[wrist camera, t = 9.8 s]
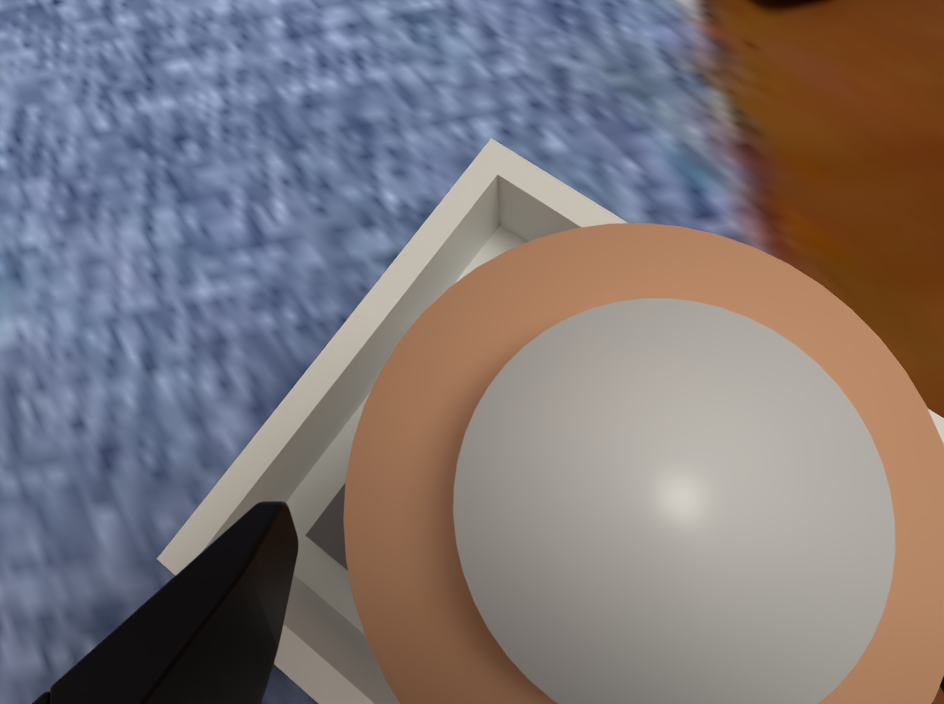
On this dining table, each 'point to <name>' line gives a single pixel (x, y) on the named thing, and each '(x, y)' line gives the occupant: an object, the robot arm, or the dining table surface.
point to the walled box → (340, 407)
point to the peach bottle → (646, 487)
